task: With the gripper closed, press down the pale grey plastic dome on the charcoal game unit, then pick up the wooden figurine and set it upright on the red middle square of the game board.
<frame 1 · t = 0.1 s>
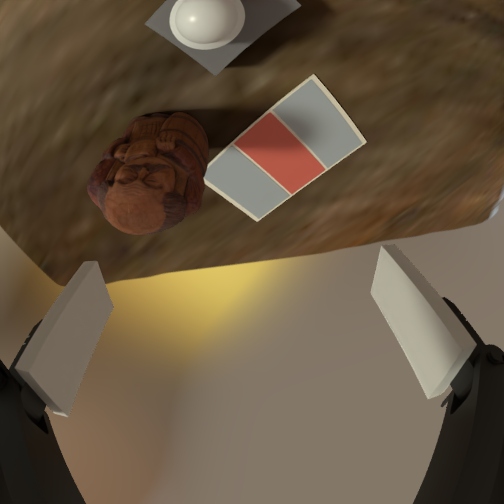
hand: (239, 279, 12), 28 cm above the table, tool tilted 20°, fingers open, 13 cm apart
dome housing: (223, 10, 22), on the table
wooden figurine: (168, 131, 34), on the table
dome: (206, 17, 16), point 9 cm above the table, slide at 0.0 cm
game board: (282, 155, 38), on the table
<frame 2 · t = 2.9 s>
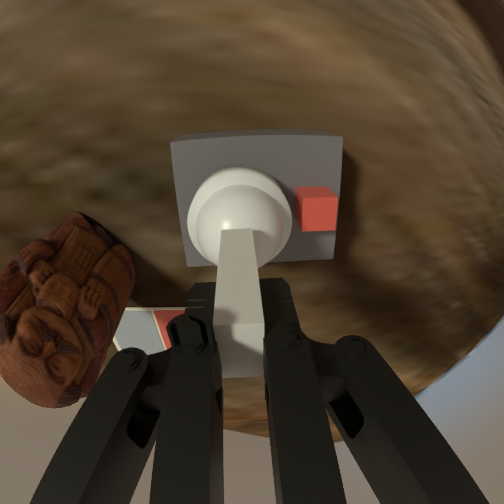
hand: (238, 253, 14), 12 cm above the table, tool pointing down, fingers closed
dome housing: (255, 185, 24), on the table
wooden figurine: (100, 252, 27), on the table
dome: (239, 227, 17), point 9 cm above the table, slide at 0.7 cm, touching gripper
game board: (190, 344, 34), on the table
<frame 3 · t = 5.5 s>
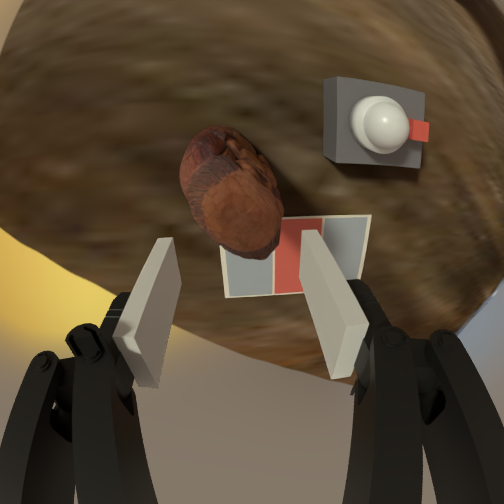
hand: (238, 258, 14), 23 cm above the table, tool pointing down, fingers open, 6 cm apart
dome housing: (366, 120, 31), on the table
wooden figurine: (236, 163, 34), on the table
dome: (385, 125, 24), point 8 cm above the table, slide at 1.5 cm
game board: (296, 257, 41), on the table
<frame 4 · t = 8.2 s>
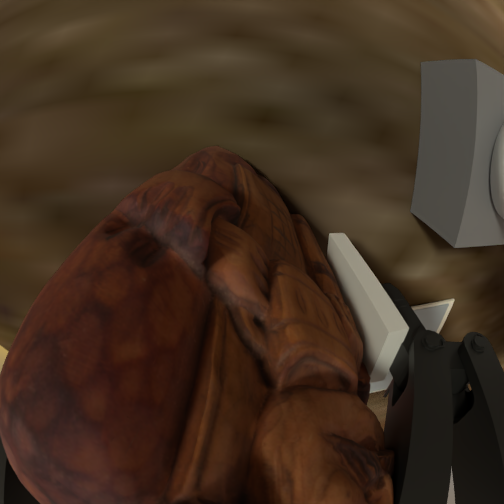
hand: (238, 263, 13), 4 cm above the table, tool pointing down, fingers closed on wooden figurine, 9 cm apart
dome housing: (478, 150, 14), on the table
wooden figurine: (245, 229, 17), on the table, touching gripper
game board: (338, 365, 23), on the table
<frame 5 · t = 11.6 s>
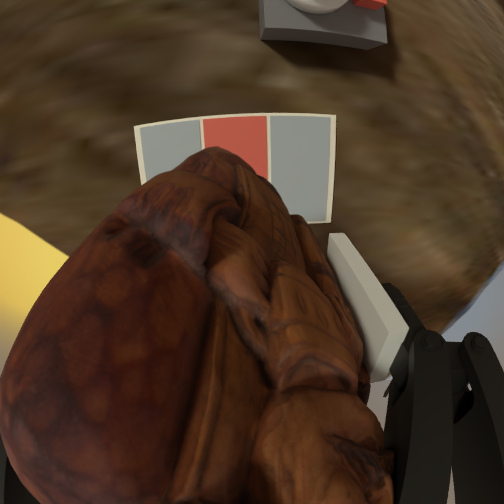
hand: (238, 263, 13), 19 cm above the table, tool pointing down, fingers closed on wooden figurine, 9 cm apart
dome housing: (313, 5, 20), on the table
wooden figurine: (245, 230, 17), point 15 cm above the table, touching gripper
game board: (237, 172, 30), on the table
when the fingers open (5 cm above the table, at t = 14.6 s): wooden figurine stays where it is, resting on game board.
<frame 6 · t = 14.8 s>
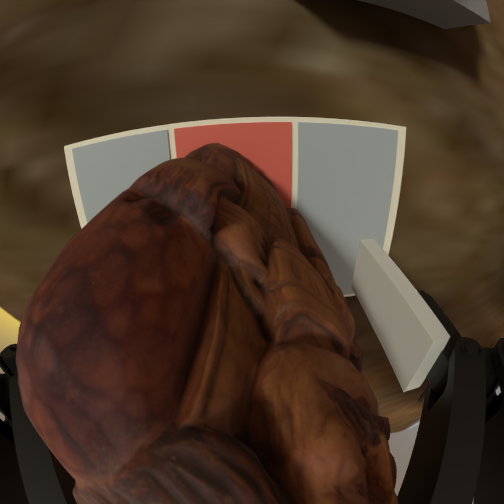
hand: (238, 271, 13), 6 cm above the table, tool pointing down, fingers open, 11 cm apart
wooden figurine: (242, 223, 17), resting on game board
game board: (237, 222, 18), on the table
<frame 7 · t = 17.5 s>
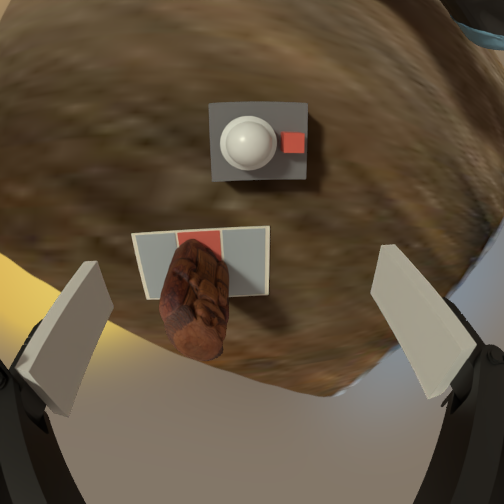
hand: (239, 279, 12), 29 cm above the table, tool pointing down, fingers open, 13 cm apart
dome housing: (255, 137, 37), on the table
wooden figurine: (204, 265, 45), resting on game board
dome: (248, 143, 30), point 8 cm above the table, slide at 1.5 cm
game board: (202, 265, 45), on the table
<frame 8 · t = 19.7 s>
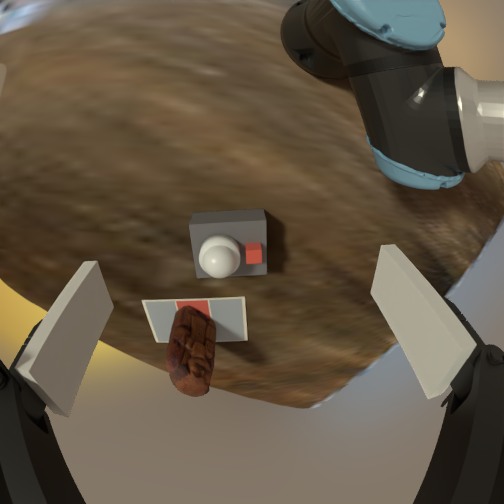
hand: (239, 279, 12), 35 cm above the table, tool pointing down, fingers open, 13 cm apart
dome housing: (230, 237, 50), on the table
wooden figurine: (197, 321, 59), resting on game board
dome: (219, 260, 43), point 8 cm above the table, slide at 1.5 cm
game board: (196, 321, 59), on the table
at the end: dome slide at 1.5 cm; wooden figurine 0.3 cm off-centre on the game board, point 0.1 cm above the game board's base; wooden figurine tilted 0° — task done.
